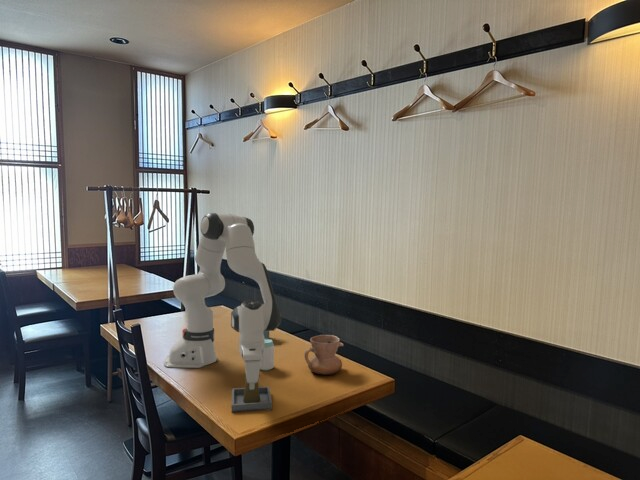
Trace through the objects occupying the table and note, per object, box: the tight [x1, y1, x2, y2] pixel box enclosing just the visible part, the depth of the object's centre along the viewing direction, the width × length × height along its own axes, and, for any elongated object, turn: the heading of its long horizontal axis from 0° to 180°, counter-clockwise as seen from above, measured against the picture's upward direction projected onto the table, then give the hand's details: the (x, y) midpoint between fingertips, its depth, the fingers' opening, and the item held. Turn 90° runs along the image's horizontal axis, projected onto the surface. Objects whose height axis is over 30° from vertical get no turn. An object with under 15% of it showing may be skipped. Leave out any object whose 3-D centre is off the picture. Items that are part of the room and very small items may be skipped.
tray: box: [231, 386, 273, 413], centre depth 158 cm, size 14×14×2 cm
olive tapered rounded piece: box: [243, 371, 260, 403], centre depth 158 cm, size 6×6×11 cm
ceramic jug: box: [304, 334, 344, 376], centre depth 188 cm, size 18×14×14 cm
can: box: [259, 338, 275, 371], centre depth 191 cm, size 7×7×12 cm
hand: (251, 385), depth 158 cm, fingers open, 4 cm apart
